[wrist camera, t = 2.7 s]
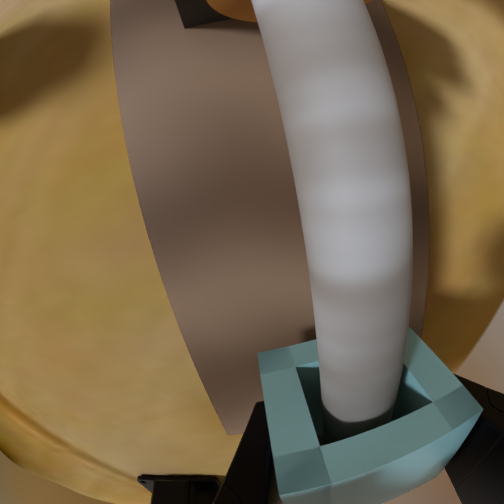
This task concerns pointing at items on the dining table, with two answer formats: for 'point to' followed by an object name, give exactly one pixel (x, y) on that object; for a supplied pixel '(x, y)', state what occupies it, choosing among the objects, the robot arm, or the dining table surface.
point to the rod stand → (279, 191)
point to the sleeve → (368, 443)
